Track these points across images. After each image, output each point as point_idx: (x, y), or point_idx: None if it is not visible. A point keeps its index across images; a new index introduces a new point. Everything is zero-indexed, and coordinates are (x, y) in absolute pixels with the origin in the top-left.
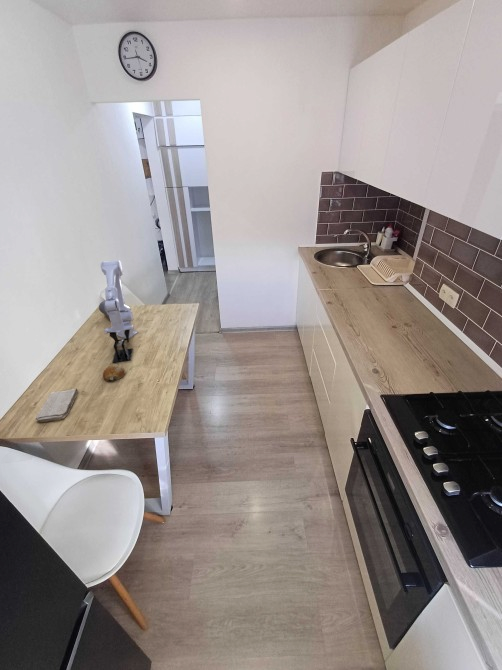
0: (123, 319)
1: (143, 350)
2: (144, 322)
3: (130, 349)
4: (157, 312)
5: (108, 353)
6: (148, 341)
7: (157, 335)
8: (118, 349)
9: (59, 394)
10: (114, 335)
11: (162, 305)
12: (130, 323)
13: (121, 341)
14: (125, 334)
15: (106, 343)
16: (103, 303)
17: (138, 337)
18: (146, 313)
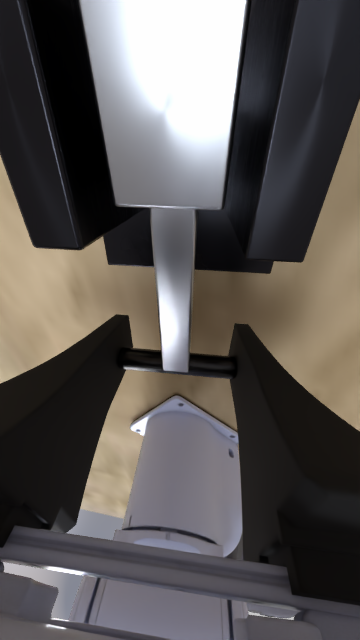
0: (153, 606)
1: (12, 216)
2: (120, 468)
3: (122, 246)
4: (87, 492)
5: (338, 271)
6: (32, 333)
7: (5, 373)
8: (234, 163)
9: None
10: (287, 466)
11: (83, 508)
12: (127, 515)
13: (170, 312)
14: (4, 418)
15: (317, 397)
16: (288, 615)
17: (117, 389)
18: (127, 499)
